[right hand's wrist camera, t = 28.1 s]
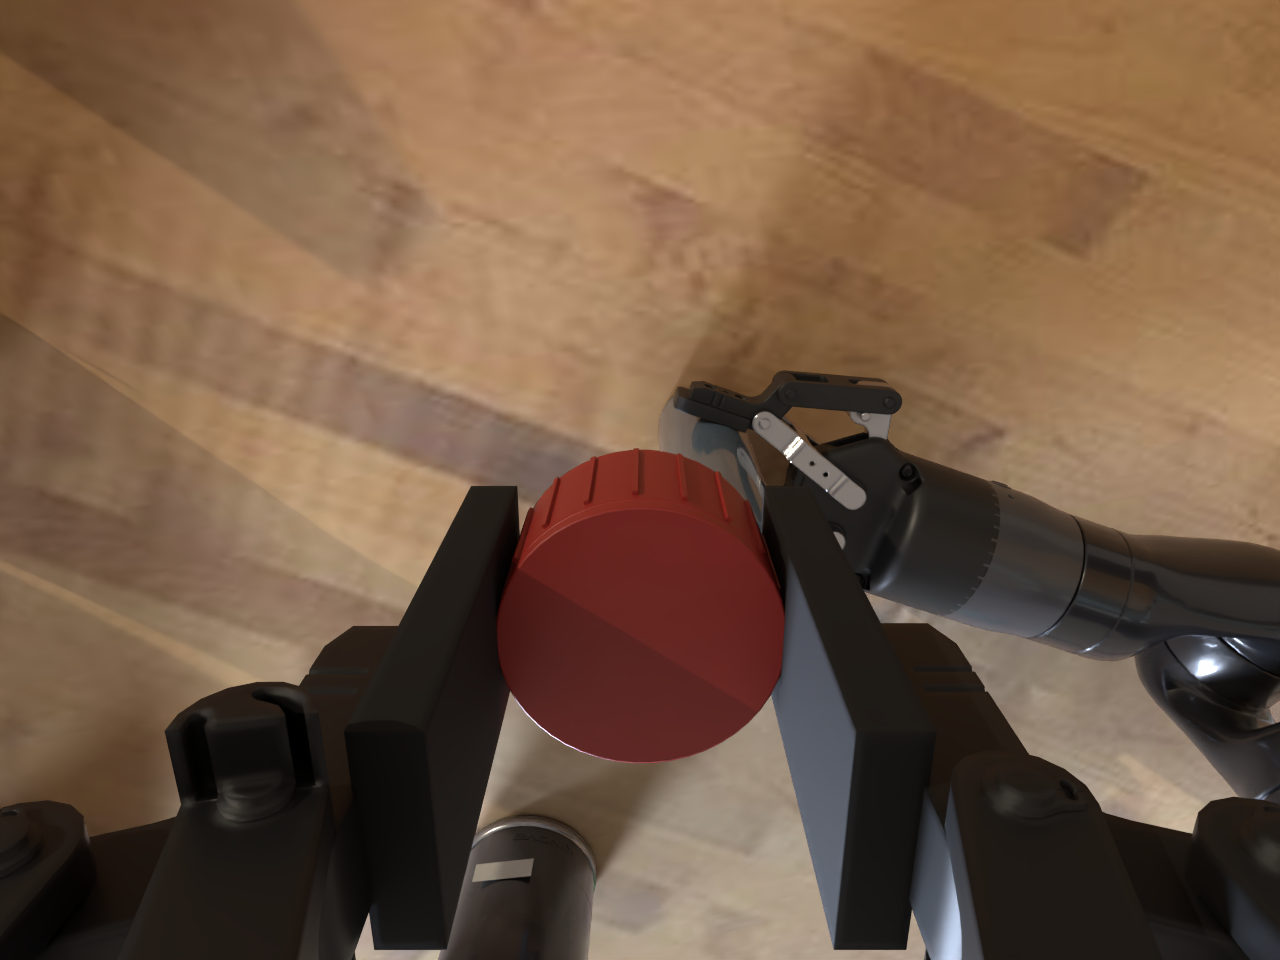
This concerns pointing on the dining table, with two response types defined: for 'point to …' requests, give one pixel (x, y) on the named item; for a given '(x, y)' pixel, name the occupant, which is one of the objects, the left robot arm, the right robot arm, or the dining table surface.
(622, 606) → the cap
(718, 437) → the bottle
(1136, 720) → the dining table surface
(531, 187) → the dining table surface
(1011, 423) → the dining table surface
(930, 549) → the left robot arm
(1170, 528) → the dining table surface
